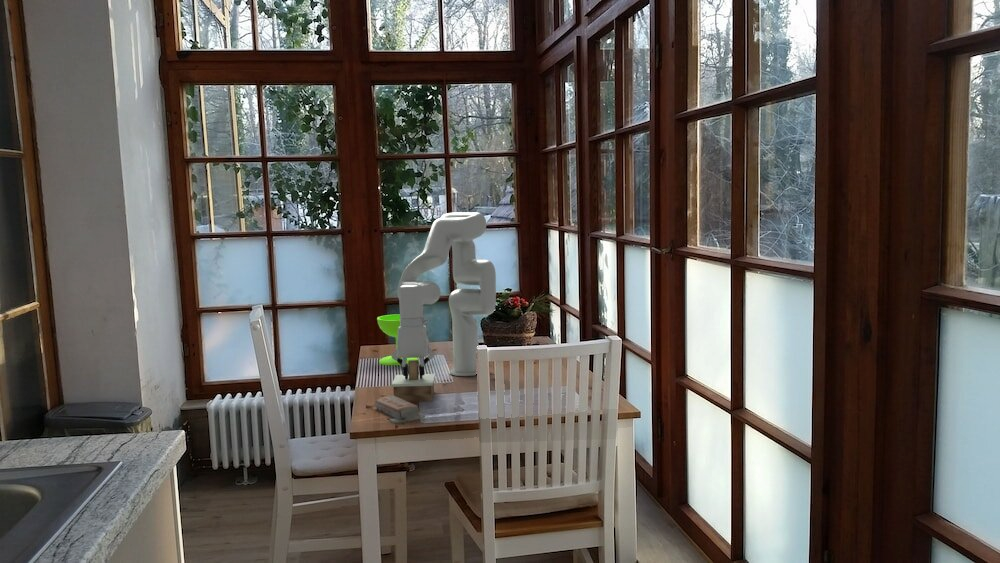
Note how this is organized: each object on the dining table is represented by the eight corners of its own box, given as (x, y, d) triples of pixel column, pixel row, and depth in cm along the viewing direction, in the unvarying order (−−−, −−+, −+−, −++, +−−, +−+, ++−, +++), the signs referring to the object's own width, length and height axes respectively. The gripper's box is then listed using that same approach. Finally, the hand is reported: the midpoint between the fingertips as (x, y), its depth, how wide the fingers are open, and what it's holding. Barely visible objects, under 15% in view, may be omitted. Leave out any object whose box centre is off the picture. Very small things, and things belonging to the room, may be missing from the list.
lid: (435, 376, 258) (434, 356, 257) (432, 385, 245) (431, 364, 244) (396, 377, 257) (395, 357, 257) (391, 386, 244) (390, 365, 244)
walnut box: (434, 394, 258) (433, 376, 257) (431, 403, 246) (431, 385, 245) (398, 395, 258) (397, 377, 257) (394, 404, 246) (393, 386, 245)
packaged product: (424, 403, 230) (394, 409, 224) (425, 419, 230) (395, 425, 225) (397, 391, 245) (368, 397, 239) (397, 406, 245) (368, 412, 240)
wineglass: (424, 357, 317) (422, 314, 315) (409, 366, 301) (407, 320, 299) (388, 356, 321) (386, 313, 319) (372, 364, 306) (370, 320, 304)
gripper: (438, 320, 253) (440, 374, 255) (387, 321, 253) (389, 376, 255) (437, 323, 245) (438, 380, 247) (384, 325, 245) (386, 381, 247)
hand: (413, 377), depth 251 cm, fingers open, 4 cm apart
